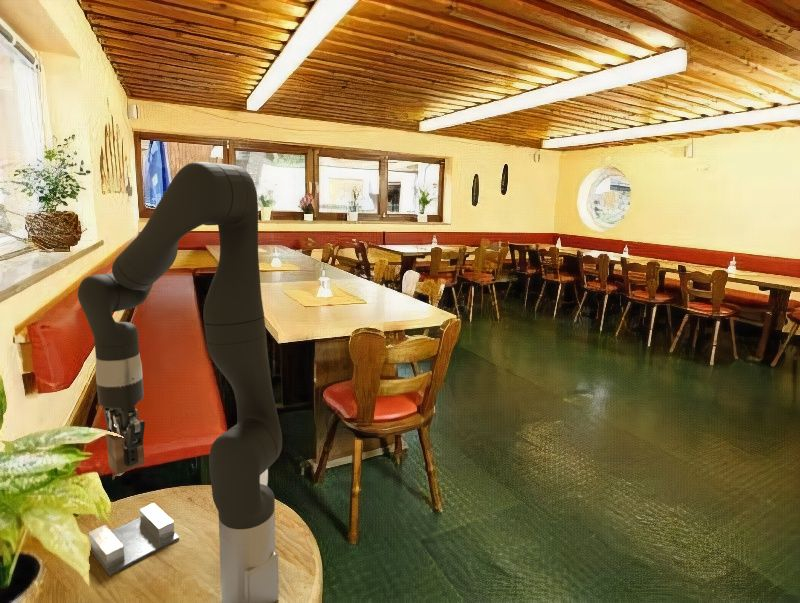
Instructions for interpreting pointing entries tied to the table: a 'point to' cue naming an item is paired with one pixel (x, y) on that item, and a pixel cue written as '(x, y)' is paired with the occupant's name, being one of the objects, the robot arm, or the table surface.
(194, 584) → the table surface
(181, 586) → the table surface
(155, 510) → the grey metal u-shaped piece
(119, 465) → the walnut wick block
